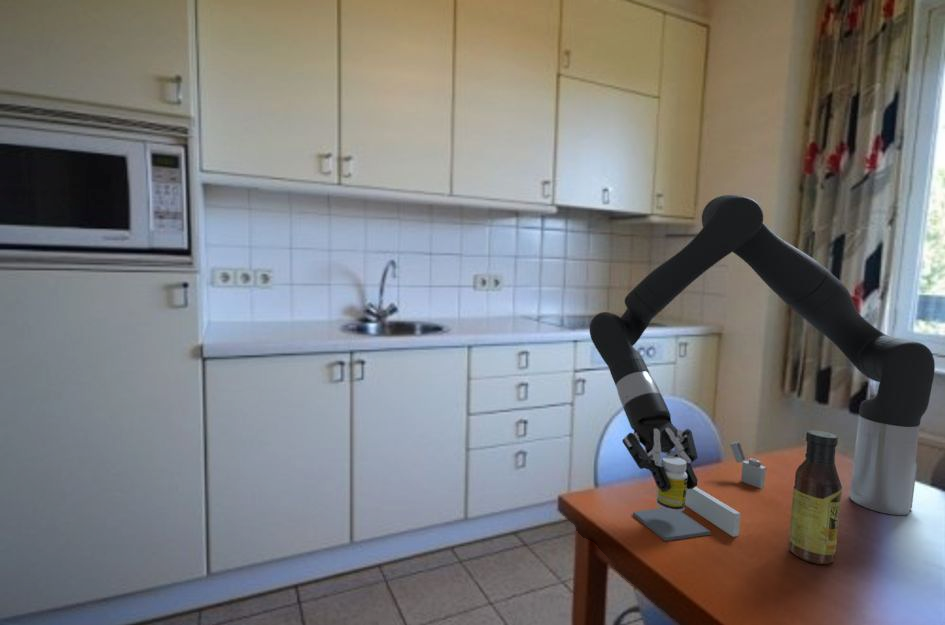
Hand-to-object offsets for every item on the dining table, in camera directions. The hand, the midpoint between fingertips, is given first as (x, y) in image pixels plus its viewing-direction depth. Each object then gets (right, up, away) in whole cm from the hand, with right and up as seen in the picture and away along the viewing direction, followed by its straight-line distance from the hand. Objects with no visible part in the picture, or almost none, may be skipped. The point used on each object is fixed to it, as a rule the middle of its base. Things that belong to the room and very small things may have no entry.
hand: (679, 488), depth 86 cm
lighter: (+23, -7, +22) cm, 33 cm away
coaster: (-1, -7, +2) cm, 8 cm away
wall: (+7, -7, +5) cm, 11 cm away
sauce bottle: (+19, -9, -6) cm, 21 cm away
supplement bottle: (-1, -4, +2) cm, 5 cm away
